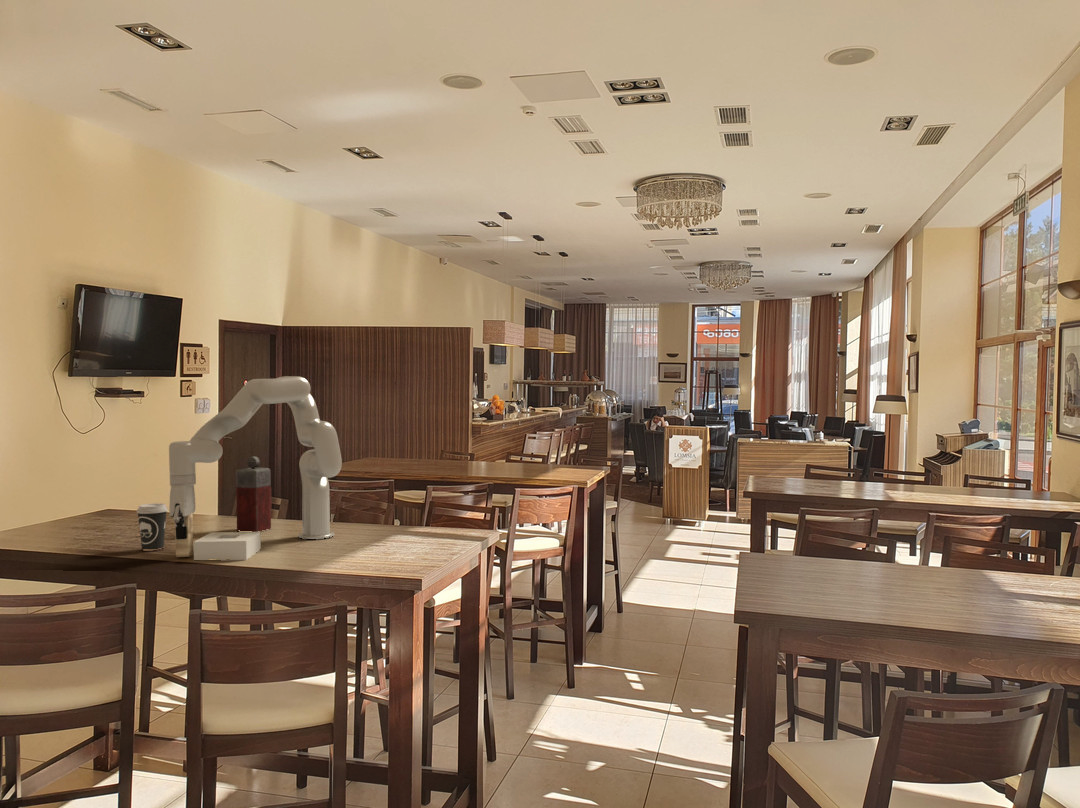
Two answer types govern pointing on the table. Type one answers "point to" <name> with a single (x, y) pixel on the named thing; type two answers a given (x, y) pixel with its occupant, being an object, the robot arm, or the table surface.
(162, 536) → the coffee cup
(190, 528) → the peg
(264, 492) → the red grey canister
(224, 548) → the block
